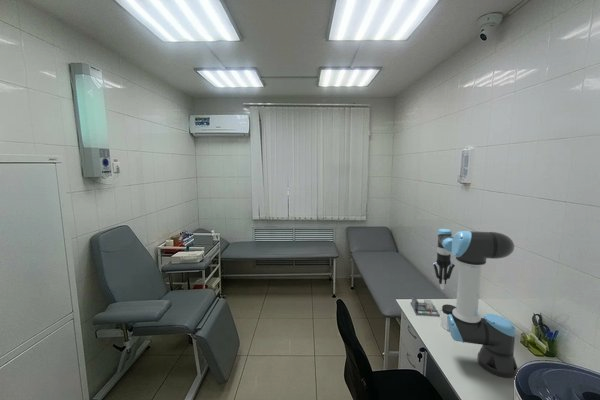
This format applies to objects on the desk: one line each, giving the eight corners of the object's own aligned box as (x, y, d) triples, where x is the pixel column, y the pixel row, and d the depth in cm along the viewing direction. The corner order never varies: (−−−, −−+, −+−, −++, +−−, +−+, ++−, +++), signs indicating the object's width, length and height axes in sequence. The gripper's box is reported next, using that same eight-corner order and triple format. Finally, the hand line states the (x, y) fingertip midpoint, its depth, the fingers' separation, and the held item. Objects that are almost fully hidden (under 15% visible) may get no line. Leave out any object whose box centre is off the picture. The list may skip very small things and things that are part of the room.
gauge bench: (439, 316, 166) (440, 305, 165) (416, 315, 169) (416, 304, 168) (432, 304, 180) (432, 294, 179) (410, 303, 182) (410, 293, 181)
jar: (454, 333, 149) (455, 313, 148) (439, 327, 155) (439, 308, 154) (459, 326, 156) (460, 307, 154) (444, 321, 161) (445, 302, 160)
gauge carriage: (434, 312, 168) (435, 306, 167) (428, 311, 168) (428, 306, 168) (430, 305, 176) (430, 299, 175) (424, 305, 176) (424, 299, 176)
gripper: (452, 251, 170) (450, 286, 174) (430, 251, 172) (429, 285, 176) (457, 255, 163) (455, 291, 166) (434, 255, 165) (433, 290, 168)
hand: (442, 288), depth 171 cm, fingers closed
